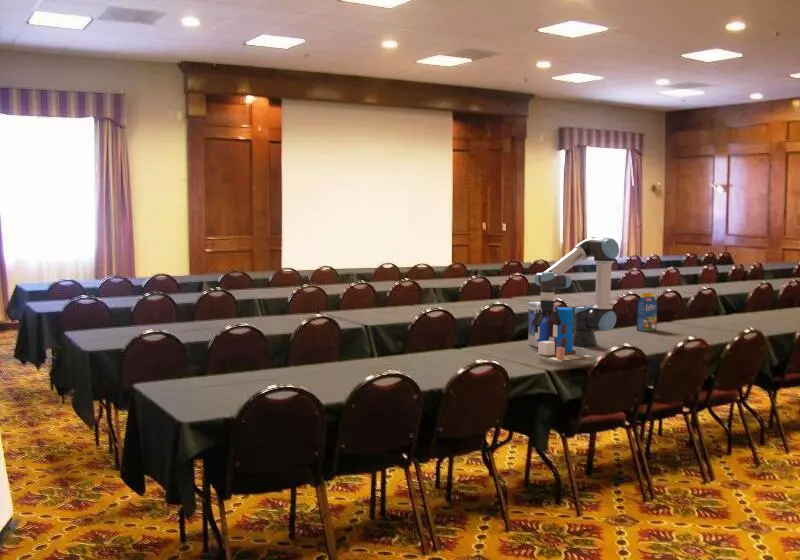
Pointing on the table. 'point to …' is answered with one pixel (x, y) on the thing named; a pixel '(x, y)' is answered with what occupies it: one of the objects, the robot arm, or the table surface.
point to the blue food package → (647, 312)
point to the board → (569, 357)
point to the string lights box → (543, 326)
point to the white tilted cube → (546, 348)
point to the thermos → (565, 329)
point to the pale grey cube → (580, 352)
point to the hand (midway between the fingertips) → (546, 337)
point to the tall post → (560, 352)
